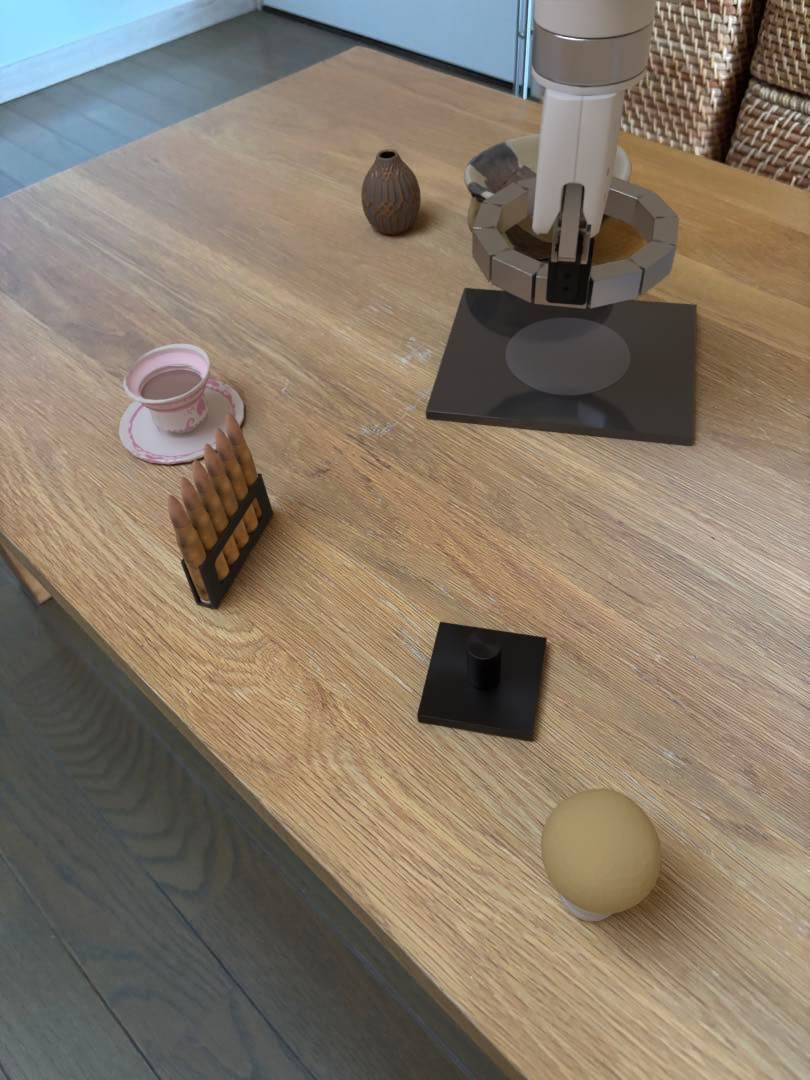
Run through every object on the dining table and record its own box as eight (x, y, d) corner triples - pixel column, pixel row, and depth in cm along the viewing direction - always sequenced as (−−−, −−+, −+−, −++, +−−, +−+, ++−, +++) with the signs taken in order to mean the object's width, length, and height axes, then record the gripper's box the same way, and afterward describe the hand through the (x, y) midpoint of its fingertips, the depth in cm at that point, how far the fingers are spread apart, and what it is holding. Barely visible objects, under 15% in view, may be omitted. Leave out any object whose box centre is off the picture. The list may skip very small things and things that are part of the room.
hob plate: (694, 312, 89) (696, 303, 88) (691, 446, 76) (693, 437, 75) (464, 295, 93) (464, 286, 92) (426, 418, 81) (425, 410, 80)
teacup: (207, 478, 78) (190, 426, 73) (95, 452, 81) (72, 401, 76) (266, 394, 85) (253, 342, 80) (161, 373, 88) (143, 322, 83)
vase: (422, 240, 101) (417, 167, 94) (363, 243, 101) (355, 170, 95) (422, 209, 105) (418, 137, 99) (366, 212, 106) (358, 141, 99)
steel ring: (457, 296, 72) (457, 269, 70) (493, 193, 82) (494, 167, 80) (667, 317, 69) (673, 289, 67) (677, 207, 79) (682, 180, 77)
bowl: (616, 203, 103) (626, 122, 96) (625, 289, 92) (638, 205, 85) (469, 204, 105) (468, 125, 98) (460, 289, 94) (458, 207, 87)
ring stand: (546, 644, 64) (550, 605, 60) (531, 741, 59) (535, 705, 55) (440, 628, 65) (437, 589, 62) (417, 722, 60) (413, 685, 57)
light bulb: (569, 968, 50) (585, 913, 42) (516, 866, 54) (522, 799, 46) (663, 919, 51) (695, 857, 43) (605, 824, 55) (625, 752, 47)
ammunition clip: (255, 508, 75) (223, 402, 66) (274, 513, 74) (245, 407, 65) (195, 604, 68) (151, 502, 59) (216, 610, 68) (174, 507, 59)
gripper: (547, 1, 62) (534, 236, 76) (515, 99, 52) (507, 348, 66) (655, 2, 60) (621, 241, 74) (643, 104, 50) (607, 357, 64)
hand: (568, 290), depth 70 cm, fingers closed on steel ring, 2 cm apart
